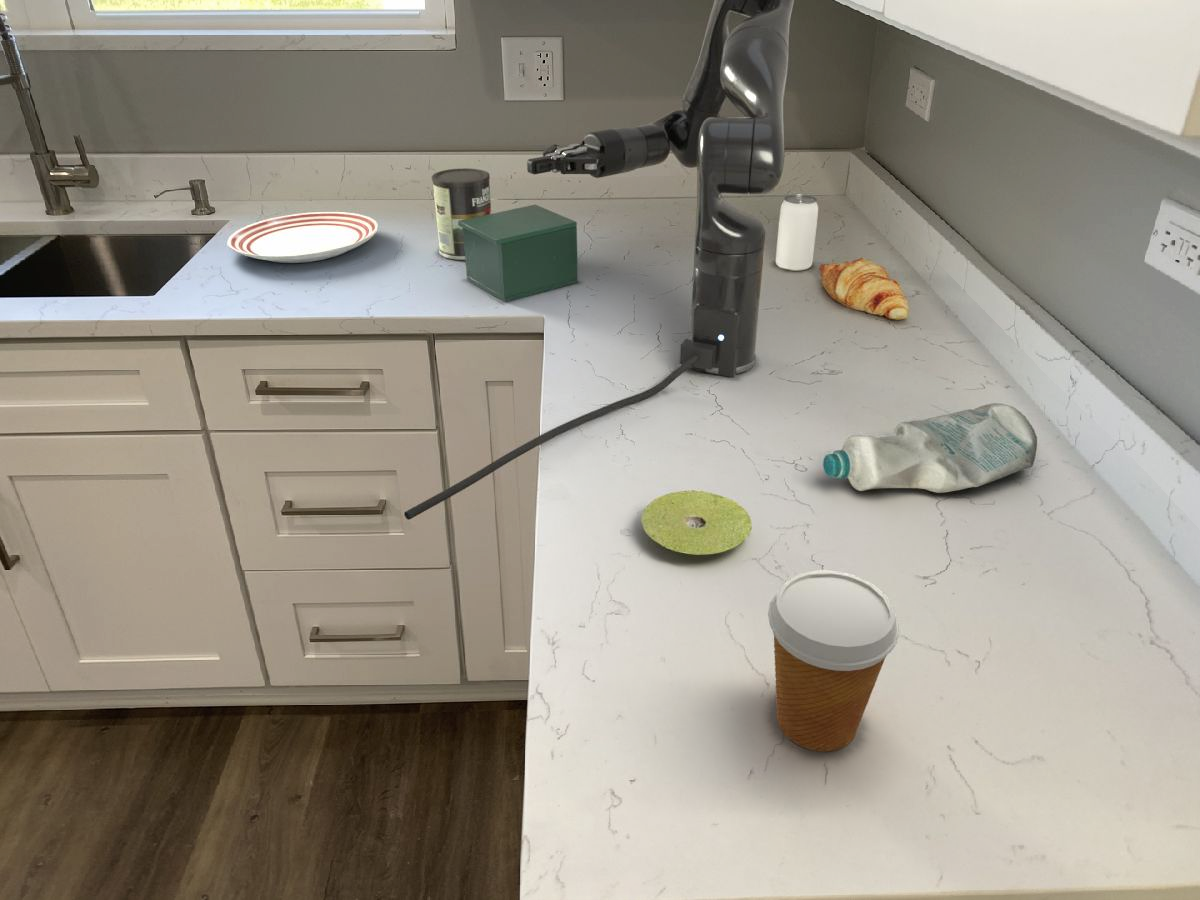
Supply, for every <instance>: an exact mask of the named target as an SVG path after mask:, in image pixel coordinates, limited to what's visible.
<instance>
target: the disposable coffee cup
mask: <svg viewBox="0 0 1200 900" xmlns="http://www.w3.org/2000/svg"><path fill="white" fill-rule="evenodd" d="M895 613H896V612H895V609H894V606H893V603H892V601H891V600H890V599H889V597H888V596H887V595H886V594H885V592H883V591H882V590H881V589H880V588H879V587H878V586H877V585H875V584H873V583H872V582H870V581H868V580H867V579H865V578H863V577H860V576H858V575H854V574H851V573H849V572H848V573H847V572H843V571H840V570H830V569H818V570H817V569H816V570H809V571H805V572H801V573H799V574H796V575H794V576H792V577H790V578H789V579H787V580H786V581H785V582H784V583H782V585H781V586H780V587H779V588H778V591H777V592H776V593H775V594H774V596H773V597H772V599H771V601H770V602H769V605H768V611H767V617H768V622H769V627H770V629H771V630H772V633H773V648H774V650H773V653H774V672H775V674H774V676H775V677H774V678H775V696H776V697H775V699H776V700H775V701H776V721H777V724H778V726H779V729H780V731H781V732H782V733H783V734H784V735H785V736H786V737H787V739H789V740H790V741H792V742H793V743H795V744H796V745H798V746H800V747H802V748H805V749H806V750H811V751H817V752H832V751H837V750H841V749H842V748H844V747H846V746H848V745H850V743H851V742H852V741H853V740H854V738H855V736H856V734H857V731H858V728H859V726H860V723H861V720H862V718H863V715H864V713H865V710H866V708H867V706H868V703H869V701H870V698H871V695H872V692H873V690H874V688H875V685H876V683H877V681H878V677H879V674H880V672H881V670H882V668H883V666H884V665H883V664H884V663H885V662H884V661H885V659H886V658H887V656H888V655H889V654H890V653H891V652H892V651H893V649H894V648H895V647H896V644H897V643H898V640H899V637H900V624H899V621H898V619H897V616H896V614H895Z"/></svg>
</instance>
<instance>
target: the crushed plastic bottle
mask: <svg viewBox="0 0 1200 900" xmlns="http://www.w3.org/2000/svg"><path fill="white" fill-rule="evenodd" d="M1037 447H1038V437H1037V433H1036V432H1035V429H1034V427H1033V425H1032V424H1031V423H1030V421H1029V419H1028V418H1027V416H1025V415H1024V414H1023V413H1022V411H1020V410H1019V409H1017V408H1016V407H1014V406H1012V405H1009V404H1005V403H998V402H997V403H995V402H994V403H993V402H992V403H988V404H984V405H980V406H977V407H975V408H974V409H964V410H960V411H957V412H953V413H949V414H944V415H943V414H942V415H938V416H934V417H930V418H926V419H921V420H920V419H919V420H911V421H901V422H900V423H898V424H897V426H896V427H895V428H894V430H893V431H892V433H891V435H890V436H886V437H885V436H882V437H876V436H873V435H861V434H852V435H851V436H849V437H848V438H846V439H845V441H844V442H843V445H842V449H839V450H838V449H837V450H834V451H833V452H832V453H828V454H826V455H824V458H823V463H822V467H823V471H824V473H825V475H826V476H827V477H829V478H836V479H837V480H846V479H848V482H849V483H850V486H852V487H853V488H854V489H855V490H856V491H859V492H864V491H868V490H877V489H879V490H880V489H920V490H926V491H929V492H932V493H937V494H939V493H940V494H941V493H951V492H955V491H961V490H965V489H969V488H978V487H980V486H984V485H987V484H988V483H992V482H994V481H998V480H1000V479H1003V478H1004V477H1007V476H1010V475H1012V474H1015V473H1018V472H1020V471H1023V470H1029V469H1032V468H1033V466H1034V462H1035V460H1036V455H1037Z"/></svg>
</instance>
